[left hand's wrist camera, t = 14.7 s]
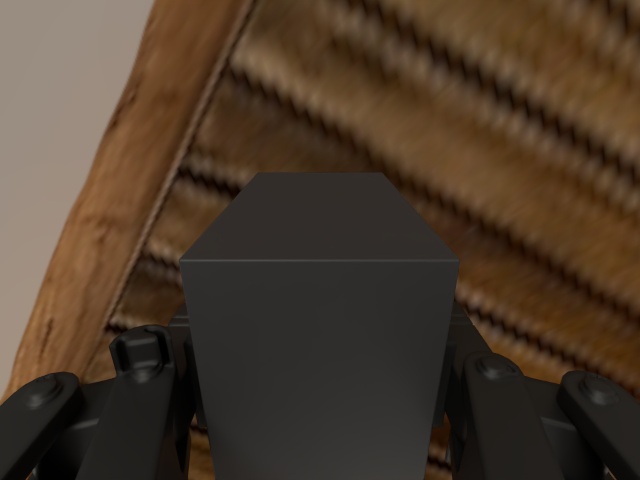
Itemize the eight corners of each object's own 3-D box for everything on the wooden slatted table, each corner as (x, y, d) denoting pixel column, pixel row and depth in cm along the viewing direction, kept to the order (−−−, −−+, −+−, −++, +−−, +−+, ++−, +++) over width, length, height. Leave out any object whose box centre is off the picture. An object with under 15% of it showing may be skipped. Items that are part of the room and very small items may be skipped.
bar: (257, 172, 14) (177, 259, 6) (382, 172, 14) (461, 259, 6) (280, 519, 22) (259, 744, 14) (359, 519, 22) (380, 744, 14)
